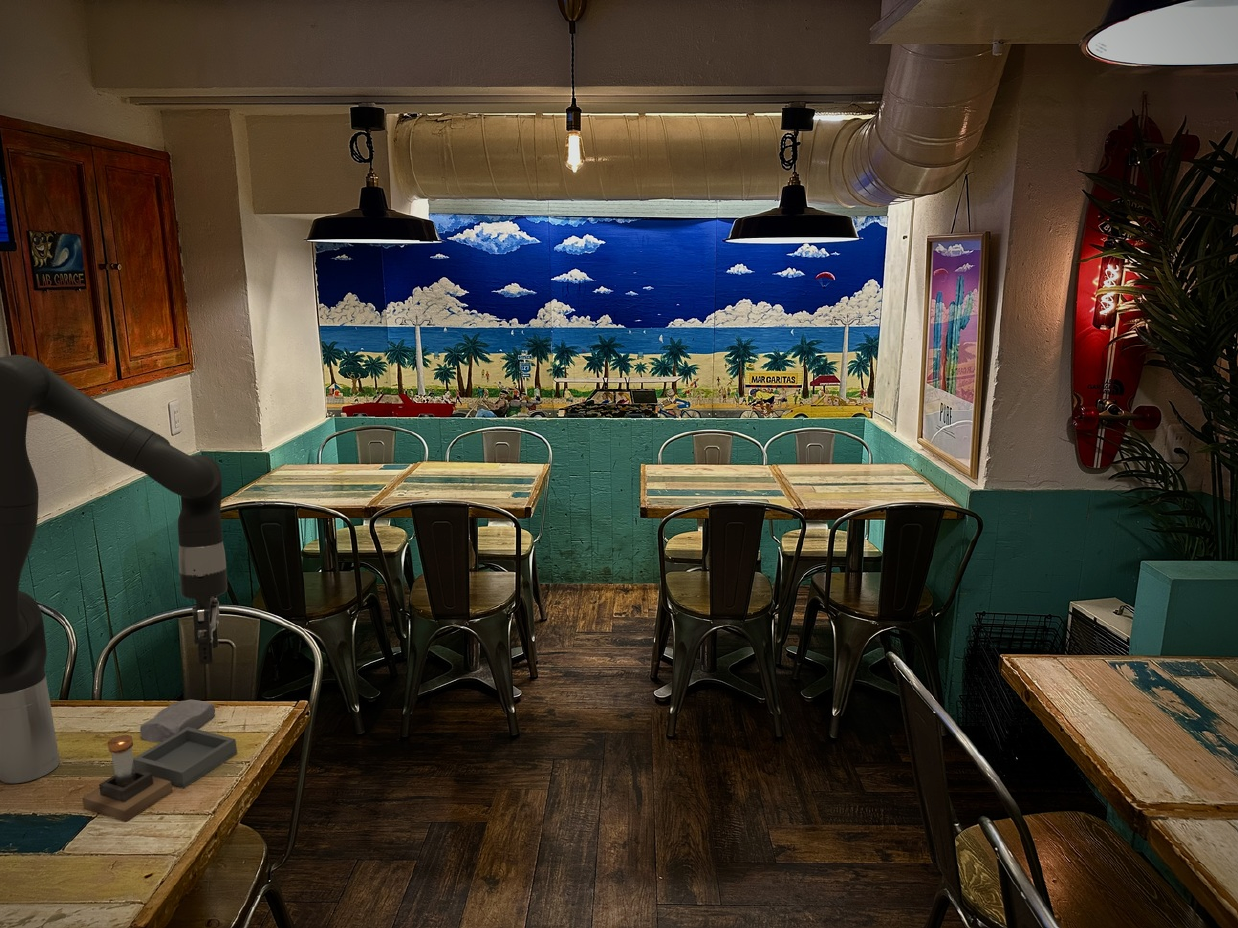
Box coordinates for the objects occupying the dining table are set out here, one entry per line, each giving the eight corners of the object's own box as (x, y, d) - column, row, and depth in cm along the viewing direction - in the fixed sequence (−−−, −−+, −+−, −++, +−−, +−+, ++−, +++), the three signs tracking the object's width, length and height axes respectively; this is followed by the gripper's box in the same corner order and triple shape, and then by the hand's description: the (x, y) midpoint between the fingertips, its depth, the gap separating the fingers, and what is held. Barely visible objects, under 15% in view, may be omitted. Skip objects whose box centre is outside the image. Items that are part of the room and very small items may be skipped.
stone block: (137, 750, 168) (181, 745, 166) (130, 726, 168) (174, 721, 165) (179, 721, 180) (221, 716, 177) (173, 699, 179) (215, 694, 177)
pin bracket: (83, 808, 147) (80, 786, 146) (131, 779, 155) (128, 759, 154) (126, 821, 143) (123, 799, 142) (172, 791, 151) (169, 770, 150)
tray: (134, 773, 157) (132, 758, 156) (189, 740, 167) (187, 726, 167) (183, 788, 152) (181, 772, 152) (237, 753, 163) (235, 738, 162)
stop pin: (110, 792, 148) (102, 743, 146) (129, 781, 151) (121, 733, 149) (125, 797, 146) (118, 747, 144) (144, 785, 149) (137, 737, 147)
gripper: (185, 560, 161) (191, 645, 163) (173, 579, 147) (180, 671, 150) (229, 557, 163) (235, 640, 165) (221, 575, 150) (228, 666, 152)
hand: (209, 655), depth 158 cm, fingers open, 8 cm apart
